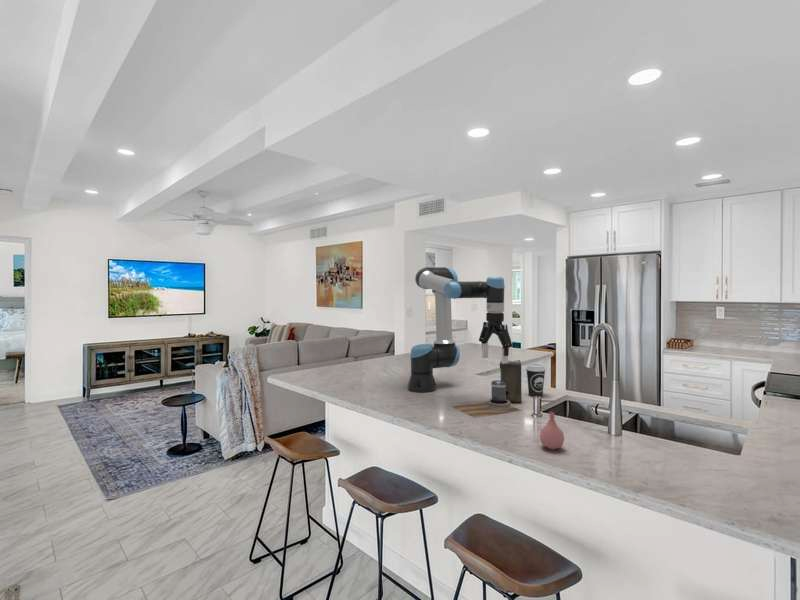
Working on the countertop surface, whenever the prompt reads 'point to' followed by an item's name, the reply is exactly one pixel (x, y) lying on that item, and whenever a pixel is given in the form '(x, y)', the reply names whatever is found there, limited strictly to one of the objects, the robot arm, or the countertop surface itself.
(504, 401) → the lens
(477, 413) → the mount board
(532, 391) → the coffee cup
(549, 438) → the perfume bottle
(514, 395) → the vintage camera
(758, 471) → the countertop surface
